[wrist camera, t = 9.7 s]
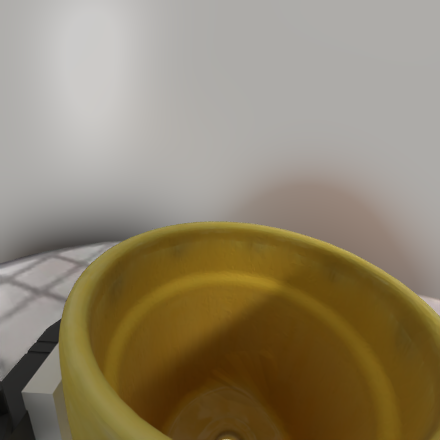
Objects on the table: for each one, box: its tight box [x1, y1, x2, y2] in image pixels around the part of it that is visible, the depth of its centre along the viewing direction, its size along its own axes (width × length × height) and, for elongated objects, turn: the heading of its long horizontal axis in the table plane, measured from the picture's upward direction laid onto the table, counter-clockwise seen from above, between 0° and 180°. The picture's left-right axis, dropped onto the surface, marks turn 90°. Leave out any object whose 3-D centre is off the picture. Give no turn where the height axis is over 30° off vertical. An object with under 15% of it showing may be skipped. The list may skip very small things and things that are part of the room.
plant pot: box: [59, 222, 440, 440], centre depth 9 cm, size 10×10×10 cm
